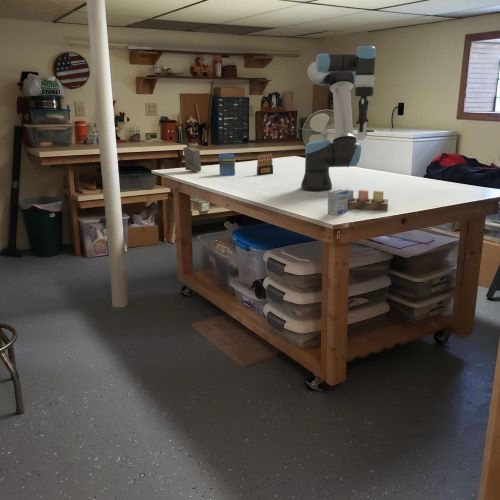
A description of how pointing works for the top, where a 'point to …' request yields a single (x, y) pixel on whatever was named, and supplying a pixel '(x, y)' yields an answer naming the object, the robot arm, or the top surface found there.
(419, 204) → the top surface
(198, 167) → the geological specimen
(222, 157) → the label tape box
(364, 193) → the button terracotta
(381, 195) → the button ochre
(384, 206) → the button board
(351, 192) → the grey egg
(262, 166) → the ammunition clip
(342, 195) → the medicine box
